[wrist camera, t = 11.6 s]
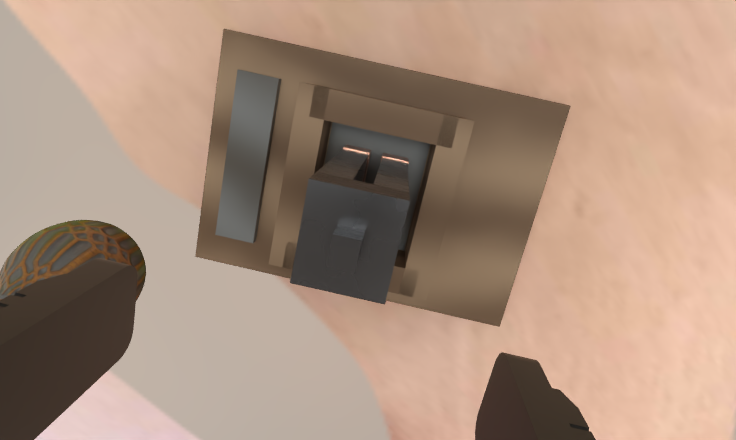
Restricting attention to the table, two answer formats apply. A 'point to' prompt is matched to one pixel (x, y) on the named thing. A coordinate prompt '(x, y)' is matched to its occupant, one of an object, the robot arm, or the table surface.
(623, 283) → the table surface
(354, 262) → the grey square peg
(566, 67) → the table surface
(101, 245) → the vase
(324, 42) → the table surface
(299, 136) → the stand
